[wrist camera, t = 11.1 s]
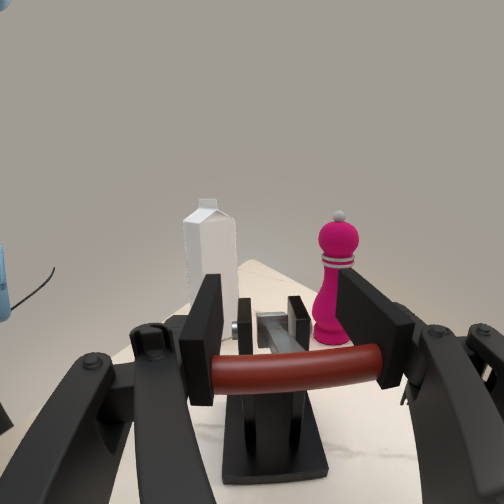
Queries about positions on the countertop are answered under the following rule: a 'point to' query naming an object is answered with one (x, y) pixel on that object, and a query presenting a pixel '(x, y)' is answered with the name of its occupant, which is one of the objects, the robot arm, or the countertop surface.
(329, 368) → the lever
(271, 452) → the black lever stand
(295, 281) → the countertop surface
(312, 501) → the countertop surface
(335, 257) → the pepper mill
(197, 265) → the milk
